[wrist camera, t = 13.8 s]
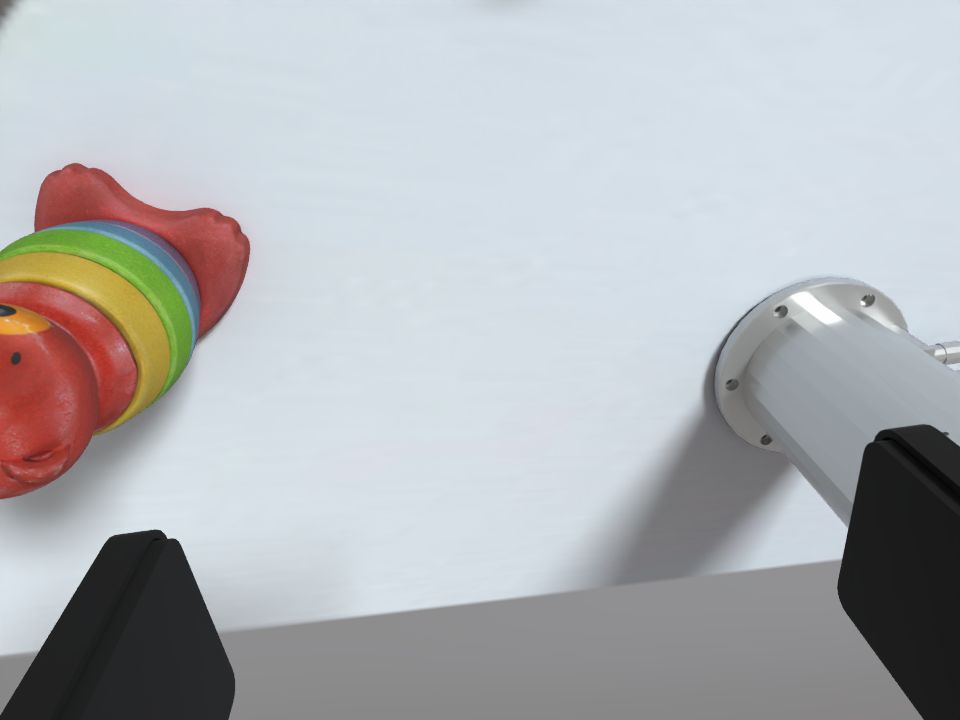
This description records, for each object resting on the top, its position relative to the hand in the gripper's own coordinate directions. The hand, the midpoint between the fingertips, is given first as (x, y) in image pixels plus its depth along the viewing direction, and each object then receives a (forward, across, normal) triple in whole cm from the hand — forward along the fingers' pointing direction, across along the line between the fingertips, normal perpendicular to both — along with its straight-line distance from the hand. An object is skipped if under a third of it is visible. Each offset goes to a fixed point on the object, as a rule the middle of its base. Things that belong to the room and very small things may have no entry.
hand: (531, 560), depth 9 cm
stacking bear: (+31, +18, +4) cm, 36 cm away
